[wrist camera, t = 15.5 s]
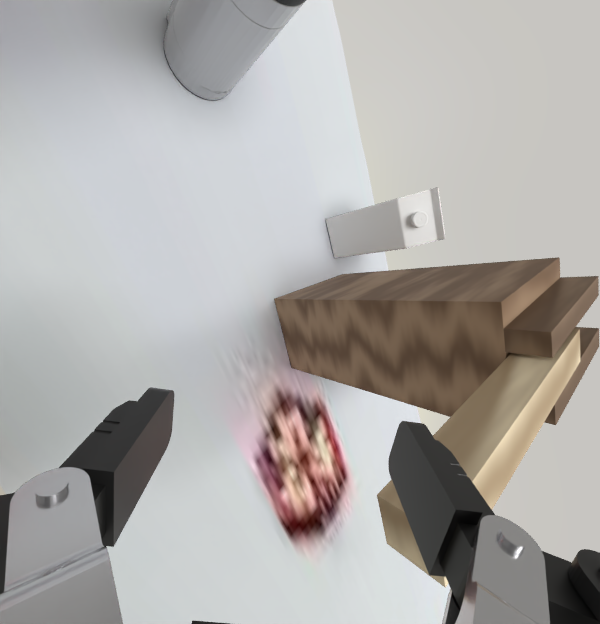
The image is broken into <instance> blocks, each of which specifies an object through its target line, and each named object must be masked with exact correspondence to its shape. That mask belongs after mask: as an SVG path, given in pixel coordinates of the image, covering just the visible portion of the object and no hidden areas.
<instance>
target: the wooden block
mask: <svg viewBox="0 0 600 624" xmlns="http://www.w3.org/2000/svg"><path fill="white" fill-rule="evenodd" d="M579 363H580V329H573V331H572V332H571V334H570V335H569V336H568V338H567V339H566V340H565V342H564V343H563V344H562V346H561V347H560V349H559V350H558V351H557V353H556V354H555V355H554V357H553V358H548V357H541V356H533V355H525V354H517V353H511V354H510V355H509V356H508V357H507V358H506V359H505V360H504V361H503V362H502V363H501V364H500V366H499V367H498V368H497V369H496V370H495V371H494V372H493V373H492V374H491V375H490V376H489V377H488V378H487V379H486V380H485V381H484V382H483V384H482V385H481V386H480V387H479V388H478V389H477V390H476V391H475V392H474V393H473V394H472V395H471V396H470V397H469V398H468V399H467V400H466V401H465V403H464V404H463V405H462V406H461V407H460V408H459V409H458V410H457V411H456V412H455V413H454V414H453V415H452V416H451V417H450V418H449V419H448V421H447V422H446V423H445V424H444V425H443V426H442V427H441V428H440V429H439V430H438V431H437V432H436V434H434V435H433V437H434V439H435V440H438V441H440V442H441V443H442V444H443V445H444V446H445V447H446V448H448V449H449V450H450V451H451V452H452V453H453V455H454V456H455V458H456V459H457V461H458V462H459V464H460V466H461V467H462V468H463V469H464V471H465V472H466V474H467V477H469V478H470V479H471V481H472V482H473V484H474V485H475V487H476V488H477V490H478V491H479V492H480V494H481V495H482V497H483V498H484V500H485V501H486V503H487V504H488V505H489V507H490V508H491V510H492V509H493V507H494V506H495V504H496V502H497V500H498V499H499V497H500V495H501V494H502V492H503V490H504V489H505V487H506V485H507V484H508V482H509V480H510V479H511V477H512V475H513V474H514V472H515V470H516V468H517V467H518V465H519V464H520V462H521V460H522V459H523V457H524V455H525V453H526V452H527V450H528V448H529V447H530V445H531V443H532V442H533V440H534V438H535V437H536V435H537V433H538V432H539V430H540V428H541V427H542V425H543V423H544V422H545V420H546V418H547V417H548V415H549V413H550V411H551V410H552V408H553V406H554V405H555V403H556V401H557V400H558V398H559V396H560V395H561V393H562V391H563V390H564V388H565V386H566V385H567V383H568V381H569V380H570V378H571V376H572V375H573V373H574V371H575V370H576V368H577V366H578V364H579ZM377 497H378V502H379V507H380V512H381V517H382V521H383V526H384V531H385V536H386V541H387V544H388V545H390V546H391V547H392V548H394V549H395V550H396V551H398V552H399V553H400V554H402V555H403V556H404V557H405V558H407V559H408V560H409V561H411V562H412V563H413V564H415V565H416V566H417V567H419V568H420V569H421V570H423V571H424V572H425V573H427V574H428V575H429V573H428V571H427V568H426V566H425V563H424V561H423V558H422V555H421V553H420V550H419V548H418V545H417V543H416V540H415V538H414V535H413V532H412V530H411V527H410V525H409V522H408V520H407V517H406V514H405V512H404V509H403V507H402V504H401V502H400V499H399V497H398V494H397V491H396V489H395V486H394V484H393V481H392V480H391V481H390V482H389V483H388V484H387V485H386V486H385V487H384V488H383V489H382V490H381V491H380V492H379V493H378V495H377ZM429 576H431V577H432V578H433V579H435V580H436V581H437V582H439V583H440V584H441V585H443V586H444V587H445V588H446V586H447V584H448V581H447V579H446V577H443V576H432V575H429Z"/></svg>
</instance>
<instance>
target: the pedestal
mask: <svg viewBox="0 0 600 624" xmlns="http://www.w3.org/2000/svg"><path fill="white" fill-rule="evenodd" d="M597 296H598V276H591V277H565V278H560V261H559V258H548V259H534V260H522V261H508V262H497V263H496V262H495V263H482V264H469V265H457V266H443V267H430V268H418V269H406V270H392V271H379V272H366V273H353V274H342V275H339V276H337V277H334V278H331V279H328V280H325V281H323V282H320V283H317V284H314V285H312V286H309V287H306V288H303V289H300V290H298V291H295V292H292V293H289V294H287V295H284V296H281V297H278V298H275V299H274V300H275V304H276V308H277V312H278V316H279V320H280V324H281V328H282V332H283V336H284V340H285V344H286V348H287V352H288V355H289V359H290V363H291V367H292V368H294V369H297V370H301V371H304V372H307V373H310V374H313V375H317V376H320V377H323V378H326V379H330V380H333V381H336V382H339V383H343V384H346V385H349V386H352V387H356V388H359V389H362V390H365V391H369V392H372V393H375V394H378V395H382V396H385V397H388V398H391V399H395V400H398V401H401V402H404V403H407V404H411V405H414V406H417V407H420V408H424V409H427V410H430V411H433V412H437V413H440V414H443V415H446V416H450V417H451V416H452V415H453V414H454V413H455V412H456V411H457V410H458V409H459V408H460V407H461V406H462V405H463V404H464V403H465V401H466V400H467V399H468V398H469V397H470V396H471V395H472V394H473V393H474V392H475V391H476V390H477V389H478V388H479V387H480V386H481V385H482V384H483V382H484V381H485V380H486V379H487V378H488V377H489V376H490V375H491V374H492V373H493V372H494V371H495V370H496V369H497V368H498V367H499V366H500V364H501V363H502V362H503V361H504V360H505V359H506V358H507V357H508V356H509V355H510V354H511V353H517V354H525V355H533V356H541V357H548V358H553V357H554V355H555V354H556V353H557V351H558V350H559V349H560V347H561V346H562V344H563V343H564V342H565V340H566V339H567V338H568V336H569V335H570V334H571V332H572V331H573V329H580V363H579V364H578V366H577V368H576V370H575V371H574V373H573V375H572V376H571V378H570V380H569V381H568V383H567V385H566V386H565V388H564V390H563V391H562V393H561V395H560V396H559V398H558V400H557V401H556V403H555V405H554V406H553V408H552V410H551V411H550V413H549V415H548V417H547V418H546V420H545V422H546V423H549V424H553V425H556V424H557V422H558V420H559V418H560V416H561V415H562V413H563V411H564V409H565V407H566V405H567V404H568V402H569V400H570V398H571V396H572V395H573V393H574V391H575V389H576V387H577V385H578V384H579V382H580V380H581V378H582V376H583V374H584V373H585V370H586V369H587V367H588V365H589V364H590V362H591V360H592V358H593V356H594V354H595V353H596V351H597V349H598V347H599V329H598V328H583V327H582V328H581V327H576V325H577V324H578V323H579V321H580V320H581V319H582V317H583V316H584V314H585V313H586V312H587V310H588V309H589V308H590V306H591V305H592V304H593V302H594V301H595V299H596V298H597Z"/></svg>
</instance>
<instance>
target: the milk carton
mask: <svg viewBox="0 0 600 624" xmlns="http://www.w3.org/2000/svg"><path fill="white" fill-rule="evenodd" d="M326 223H327V228H328V232H329V236H330V241H331V245H332V249H333V254H334V257H335V258H340V257H347V256H354V255H362V254H369V253H376V252H383V251H391V250H398V249H405V248H409V247H413V246H418V245H422V244H426V243H429V242H433V241H437V240H443V239H445V232H444V224H443V217H442V210H441V203H440V195H439V188H438V187H436V188H433V189H429V190H426V191H422V192H419V193H415V194H411V195H408V196H404V197H400V198H396V199H393V200H390V201H386V202H383V203H380V204H376V205H372V206H369V207H365V208H362V209H359V210H355V211H352V212H348V213H345V214H341V215H338V216H335V217H331V218H328V219H326Z"/></svg>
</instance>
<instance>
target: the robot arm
mask: <svg viewBox="0 0 600 624" xmlns="http://www.w3.org/2000/svg"><path fill="white" fill-rule="evenodd" d="M305 1H306V0H173V1H172V4H171V6H170V9H169V12H168V14H167V21H168V28H167V30H166V33H165V37H164V51H165V54H166V58H167V61H168V63H169V65H170V68H171V69H172V71H173V73H174V74H175V76H176V77H177V78H178V80H179V81H180V82H181V83H182V84H183V85H184V86H185V87H186V88H187V89H188V90H189V91H191V92H192V93H194V94H195V95H197V96H199V97H202V98H204V99H208V100H219V99H221V98H224V97H225V96H226V95H228V93H229V92H230V91H231V90H232V89H233V87H234V86H235V85H236V84H237V83H238V81H239V80H240V79H241V78H242V77H243V76H244V74H245V73H246V72H247V71H248V70H249V68H250V67H251V66H252V65H253V64H254V62H255V61H256V60H257V59H258V58H259V56H260V55H261V54H262V53H263V52H264V50H265V49H266V48H267V47H268V46H269V44H270V43H271V42H272V41H273V40H274V38H275V37H276V36H277V35H278V34H279V32H280V31H281V30H282V29H283V28H284V26H285V25H286V24H287V23H288V21H289V20H290V19H291V18H292V17H293V15H294V14H295V13H296V12H297V11H298V9H299V8H300V7H301V6H302V5H303V3H304V2H305ZM173 407H174V391H172V390H165V389H158V388H149V389H148V390H147V391H146V392H145V393H144V394H143V396H142V397H141V398H140V399H139V400H138V402H137V401H127V402H125V403H124V404H122V405H120V406H118V407H116V408H115V409H113V410H112V411H111V413H110V414H109V415H108V416H107V417H106V418H105V419H104V420H103V422H101V423H100V424H99V425H98V427H97V428H96V429H95V431H94V432H92V433H91V434H90V435H89V436H88V437H87V438H86V439H85V440H84V442H83V443H82V444H81V445H80V446H79V447H78V448H77V449H76V450H75V451H74V452H73V453H72V454H71V456H70V457H69V458H68V459H67V460H66V461H65V462H64V463H63V464H62V465H61V466H60V467H59V468H57V469H53V470H49V471H46V472H44V473H41V474H39V475H37V476H35V477H34V478H32V479H30V480H29V481H27V482H26V483H25V484H23V485H22V486H21V487H20V488H19V489H18V490H17V491H16V492H15V493H12V494H6V495H0V624H123V622H122V617H121V612H120V607H119V602H118V597H117V592H116V587H115V582H114V577H113V572H112V567H111V562H110V558H109V553H108V550H107V547H106V546H113V547H114V545H115V543H116V541H117V539H118V537H119V536H120V534H121V532H122V530H123V528H124V526H125V524H126V523H127V521H128V519H129V517H130V515H131V513H132V512H133V510H134V508H135V506H136V504H137V502H138V500H139V499H140V497H141V495H142V493H143V491H144V489H145V487H146V486H147V484H148V482H149V480H150V478H151V476H152V475H153V473H154V471H155V469H156V467H157V465H158V463H159V462H160V460H161V458H162V456H163V454H164V452H165V450H166V448H167V446H168V444H169V441H170V437H171V432H172V421H173ZM389 472H390V476H391V479H392V481H393V484H394V486H395V489H396V491H397V494H398V497H399V499H400V502H401V504H402V507H403V509H404V512H405V514H406V517H407V520H408V522H409V525H410V527H411V530H412V532H413V535H414V538H415V540H416V543H417V545H418V548H419V550H420V553H421V555H422V558H423V561H424V563H425V566H426V568H427V571H428V573H429V575H432V576H443V577H446V579H447V581H448V583H449V585H450V588H451V589H450V592H449V594H448V598H447V603H446V608H445V612H444V617H443V622H442V624H600V553H598V552H596V551H592V550H586V549H584V550H580V551H579V552H578V554H577V555H576V557H575V559H574V561H573V562H572V563H571V562H569V561H566V560H564V559H561V558H559V557H556V556H553V555H551V554H548V553H546V552H543V551H541V549H540V547H539V546H538V544H537V543H536V542H535V541H534V539H533V538H532V537H531V536H530V535H529V534H528V533H527V532H526V531H524V530H523V529H522V528H520V527H519V526H518V525H516V524H514V523H513V522H511V521H509V520H507V519H505V518H503V517H500V516H496V515H495V514H494V513H493V511H492V510H491V508H490V507H489V505H488V504H487V503H486V501H485V500H484V498H483V497H482V495H481V494H480V492H479V491H478V490H477V488H476V487H475V485H474V484H473V482H472V481H471V479H470V478H469V477H467V474H466V472H465V471H464V469H463V468H462V467H461V466H460V464H459V462H458V461H457V459H456V458H455V456H454V455H453V453H452V452H451V451H450V450H449V449H448V448H446V447H445V446H444V445H443V444H442V443H441V442H440V441H438V440H435V439H434V437H433V436H432V434H431V433H430V431H429V430H428V428H427V427H426V425H424V424H421V423H414V422H406V421H402V422H401V423H400V424H399V427H398V430H397V433H396V436H395V440H394V443H393V446H392V449H391V453H390V456H389ZM192 624H228V623H215V622H203V621H192Z"/></svg>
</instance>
